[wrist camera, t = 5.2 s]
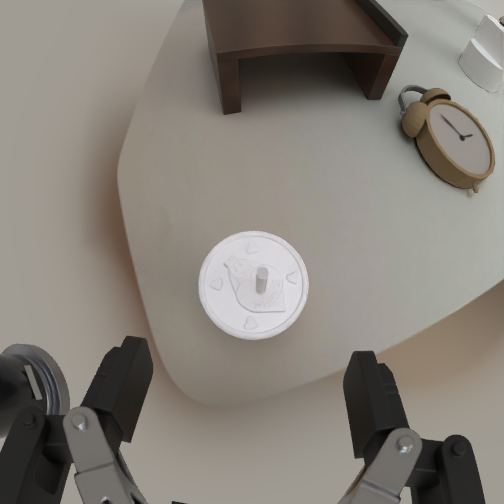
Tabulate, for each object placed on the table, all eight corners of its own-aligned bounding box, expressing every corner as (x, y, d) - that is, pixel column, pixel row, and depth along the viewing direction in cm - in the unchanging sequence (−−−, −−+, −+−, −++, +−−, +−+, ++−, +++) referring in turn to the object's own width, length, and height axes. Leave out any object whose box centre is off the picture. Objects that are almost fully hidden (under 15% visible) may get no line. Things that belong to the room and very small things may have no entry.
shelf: (223, 115, 33) (214, 36, 22) (208, 48, 37) (200, -16, 26) (380, 99, 34) (408, 34, 23) (340, 38, 38) (354, -19, 27)
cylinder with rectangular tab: (450, 56, 38) (474, 10, 27) (476, 59, 39) (500, 19, 27) (480, 92, 36) (511, 46, 24) (504, 93, 37) (533, 53, 25)
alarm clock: (479, 199, 27) (392, 90, 27) (453, 210, 31) (373, 113, 32) (504, 153, 29) (432, 64, 29) (482, 165, 33) (414, 83, 34)
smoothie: (255, 356, 26) (256, 371, 12) (201, 305, 27) (150, 266, 13) (305, 301, 27) (355, 260, 13) (252, 253, 28) (250, 171, 15)
